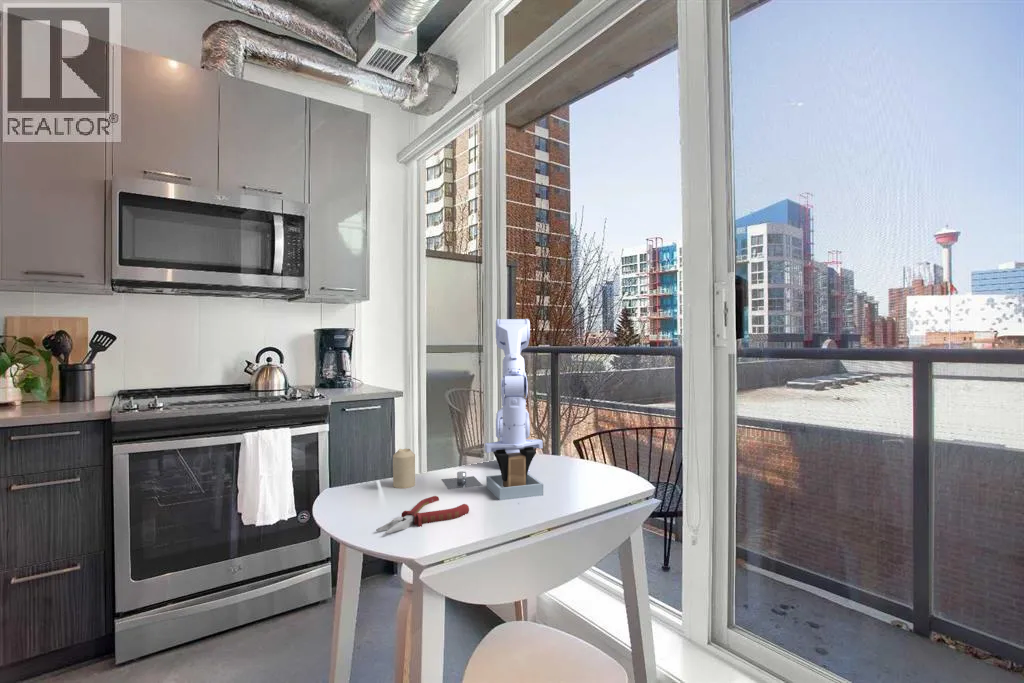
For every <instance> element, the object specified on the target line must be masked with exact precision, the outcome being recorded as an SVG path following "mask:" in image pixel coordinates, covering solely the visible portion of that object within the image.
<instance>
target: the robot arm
mask: <svg viewBox="0 0 1024 683" xmlns="http://www.w3.org/2000/svg"><path fill="white" fill-rule="evenodd" d="M530 338H531V322H530V319H529V318H525V319H524V318H511V319H510V318H507V319H506V318H505V319H504V318H503V319H502V318H497V319H496V320H495V341H496V342H495V343H496V346H497V348H498V349H501V350H503V353H504V354H503V355H504V357H503V359H502V377H501V378H500V396H501V406H502V407H501V408H500V409H498V410H497V413H496V414H495V415H496V418H495V437H496V438H497V439H499V440H498V441H493V442H485V443H484V451H485V453H487V454H489V453H493V456H494V457H495V459H496V461H497V462H496V464H497V465H498V467H499V470H500V475H501V476H502V480H503V481H507V464H508V457H509V455H507V454H506V453H518V452H520V453H521V454H523V455H525V456H526V478H527V473H529V472H531V470H530V469H529V468H530V466H531V464H532V461H533V460H534V459H533V458H534V457H535V456H536V450H535V449H543V448H544V447H543V446H544V444H543V440H542V439H540V438H539V439H536V438H535V439H529V437H530V435H531V434H530V433H531V432H530V431H531V430H530V428H531V427H530V424H531V422H530V413H529V411H528V410H527V409H526V406H527V404H526V403H527V402H526V399H527V398H528V392H529V391H528V389H529V388H528V386H529V385H528V378H527V373H526V370H525V368H526V365H525V364H526V363H525V358H524V357H523V356H522V355H521V353H522V350H525V349H526V348H528V346H529V344H530Z"/></svg>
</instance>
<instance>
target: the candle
mask: <svg viewBox="0 0 1024 683" xmlns="http://www.w3.org/2000/svg"><path fill="white" fill-rule="evenodd" d="M392 477H393V478H392V486H393V488H396V489H409V488H413V487H415V486H416V454H415V453H414V452H413V450H411V449H410V448H404V449H402V448H399V449H398V450H396V452H394V454H393V455H392Z"/></svg>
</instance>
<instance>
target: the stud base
mask: <svg viewBox="0 0 1024 683" xmlns="http://www.w3.org/2000/svg"><path fill="white" fill-rule="evenodd" d="M441 481H442V482H443V484H444V486H445V487H446V488H447V489H448V490H451V489H452V490H454V489H464V488H473V487H482V486H484V485H483V484H482V483H481V482H480V480H478V479H477V478H476V477H475V476H474V475H472V476H467V472H466V471H457V472H456V477H454V478H453V477H451V478H450V477H449V478H442V479H441Z"/></svg>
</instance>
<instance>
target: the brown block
mask: <svg viewBox="0 0 1024 683" xmlns="http://www.w3.org/2000/svg"><path fill="white" fill-rule="evenodd" d="M506 454H507V455H509V457H508V464H507V481H503V486H502V487H512V486H522V485H527V484H526V456H525V455H523V454H521V453H520V452H518V453H506Z"/></svg>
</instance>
